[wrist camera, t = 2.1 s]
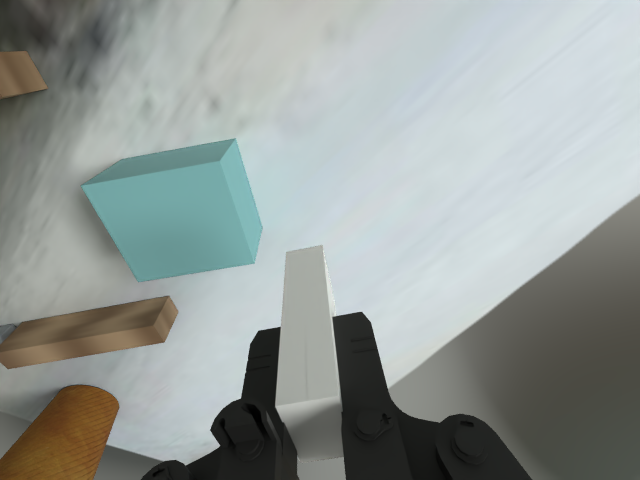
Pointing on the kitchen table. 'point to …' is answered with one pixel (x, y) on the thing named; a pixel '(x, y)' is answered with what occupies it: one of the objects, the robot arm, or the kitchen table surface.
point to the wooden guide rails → (87, 326)
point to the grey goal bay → (6, 331)
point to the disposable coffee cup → (64, 438)
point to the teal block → (179, 210)
